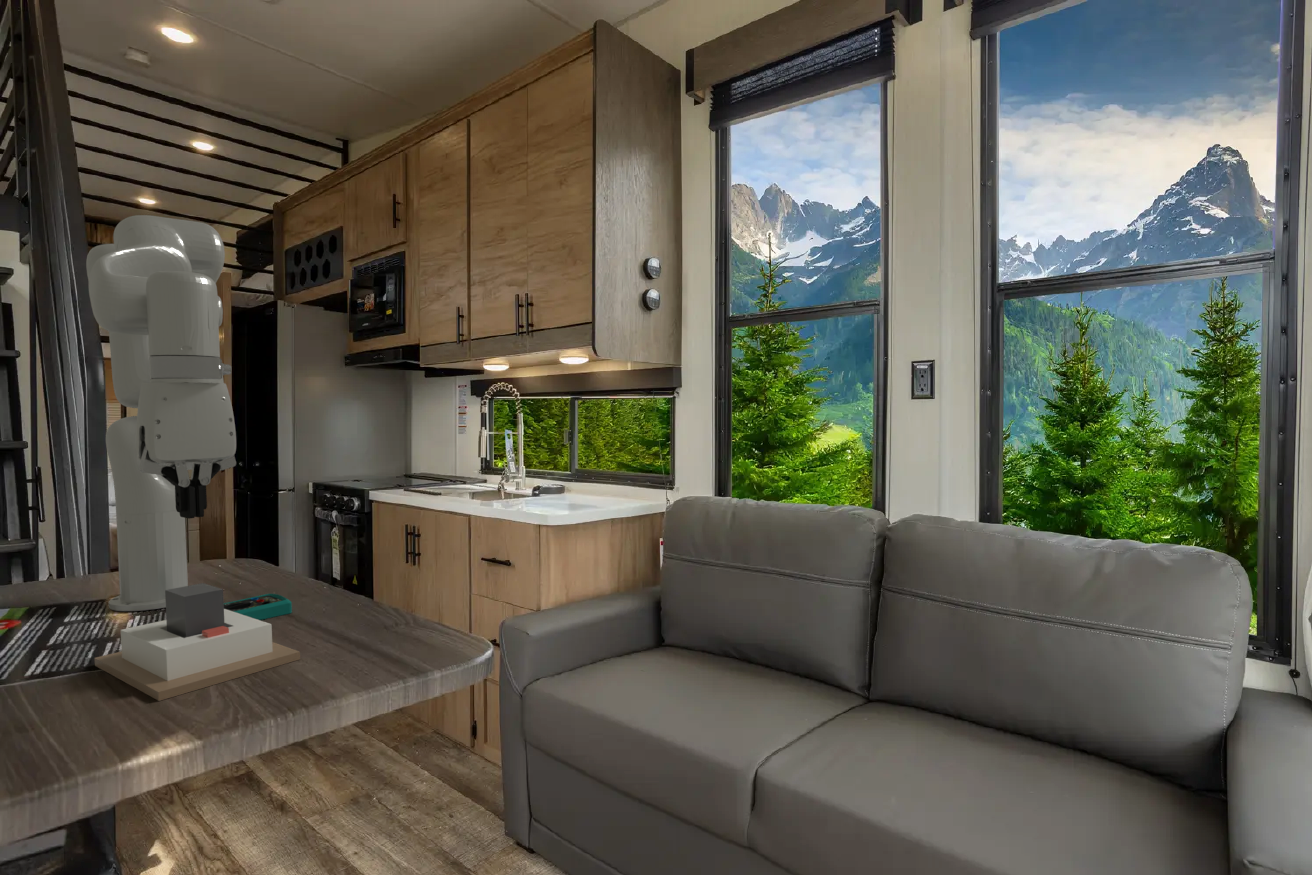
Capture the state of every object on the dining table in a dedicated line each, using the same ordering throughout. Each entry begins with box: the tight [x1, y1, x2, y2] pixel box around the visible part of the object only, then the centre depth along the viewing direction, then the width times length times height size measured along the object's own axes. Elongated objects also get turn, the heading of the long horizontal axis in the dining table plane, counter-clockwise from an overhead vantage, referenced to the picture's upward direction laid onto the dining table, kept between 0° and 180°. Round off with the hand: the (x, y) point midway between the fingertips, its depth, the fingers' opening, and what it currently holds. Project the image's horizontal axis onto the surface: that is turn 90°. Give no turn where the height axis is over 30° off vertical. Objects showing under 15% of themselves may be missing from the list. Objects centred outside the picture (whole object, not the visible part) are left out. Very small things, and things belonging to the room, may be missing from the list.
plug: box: [165, 582, 225, 638], centre depth 93 cm, size 6×4×8 cm
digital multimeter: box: [224, 593, 293, 621], centre depth 112 cm, size 7×15×3 cm, turn 142°
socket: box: [94, 609, 301, 702], centre depth 93 cm, size 20×16×5 cm
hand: (191, 516), depth 93 cm, fingers closed
